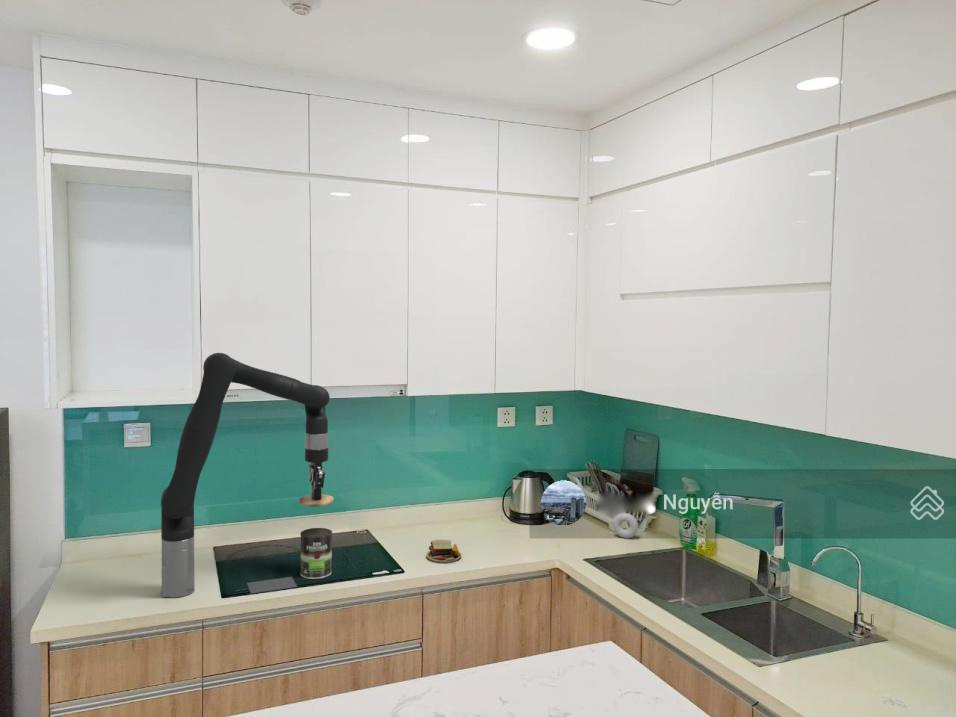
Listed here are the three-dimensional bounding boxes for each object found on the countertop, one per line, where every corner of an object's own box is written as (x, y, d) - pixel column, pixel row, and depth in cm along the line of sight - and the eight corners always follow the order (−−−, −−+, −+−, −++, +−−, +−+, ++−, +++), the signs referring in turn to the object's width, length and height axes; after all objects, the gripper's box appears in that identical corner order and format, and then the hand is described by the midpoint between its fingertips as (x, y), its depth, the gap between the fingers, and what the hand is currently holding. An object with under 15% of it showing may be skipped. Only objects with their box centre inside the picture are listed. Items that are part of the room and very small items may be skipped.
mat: (250, 594, 211) (250, 593, 211) (247, 584, 219) (247, 582, 219) (297, 587, 217) (297, 586, 217) (291, 577, 225) (291, 576, 225)
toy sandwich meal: (426, 564, 240) (427, 551, 240) (426, 551, 253) (426, 538, 253) (462, 564, 241) (462, 550, 241) (459, 551, 255) (460, 538, 254)
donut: (611, 537, 273) (612, 512, 272) (613, 534, 276) (614, 510, 276) (636, 541, 269) (637, 515, 268) (638, 538, 272) (639, 513, 272)
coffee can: (333, 578, 225) (333, 536, 224) (300, 581, 222) (300, 538, 222) (331, 567, 235) (331, 526, 234) (299, 569, 232) (300, 528, 231)
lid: (303, 508, 220) (303, 492, 220) (296, 499, 230) (296, 484, 230) (337, 504, 225) (337, 489, 224) (329, 496, 235) (329, 481, 234)
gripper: (300, 443, 231) (300, 494, 232) (309, 451, 218) (309, 504, 219) (323, 442, 234) (323, 492, 235) (333, 449, 221) (332, 502, 222)
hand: (316, 497), depth 227 cm, fingers closed on lid, 3 cm apart
